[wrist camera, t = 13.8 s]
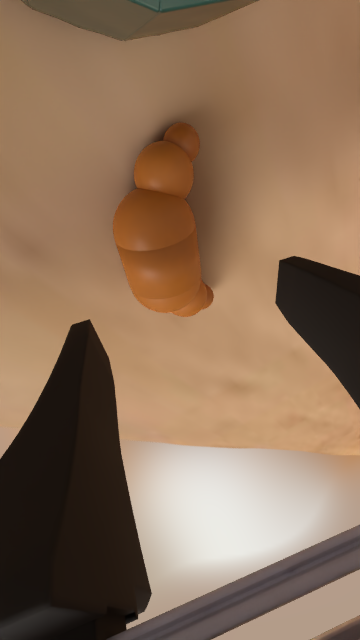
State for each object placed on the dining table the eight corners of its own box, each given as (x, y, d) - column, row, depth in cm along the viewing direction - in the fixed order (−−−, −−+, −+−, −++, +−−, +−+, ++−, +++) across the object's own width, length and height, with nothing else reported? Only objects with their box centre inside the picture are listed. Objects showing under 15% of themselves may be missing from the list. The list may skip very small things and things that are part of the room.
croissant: (209, 295, 19) (233, 332, 16) (140, 317, 19) (153, 358, 16) (190, 116, 13) (225, 126, 10) (82, 142, 12) (88, 159, 9)
